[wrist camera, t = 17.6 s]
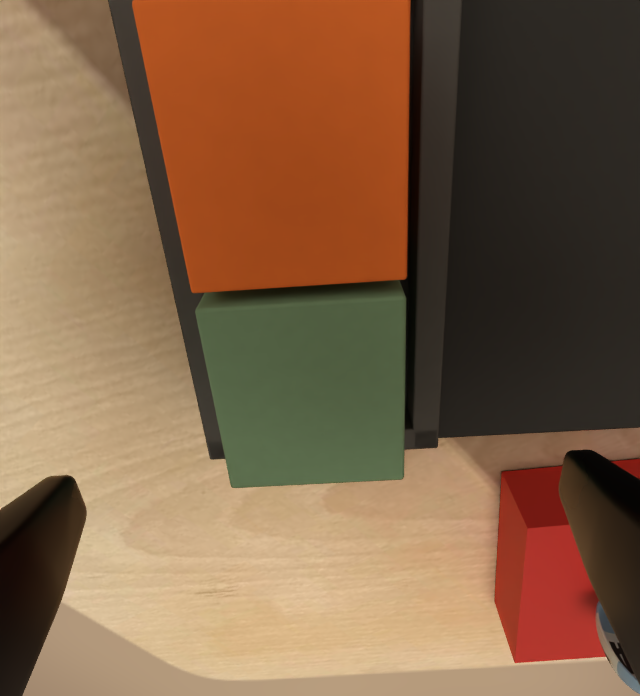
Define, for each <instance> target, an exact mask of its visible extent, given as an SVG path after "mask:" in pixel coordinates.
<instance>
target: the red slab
mask: <svg viewBox="0 0 640 696" xmlns="http://www.w3.org/2000/svg"><path fill="white" fill-rule="evenodd" d="M611 462H613V463H614V464H616V465H617V466H619V467H621V468H622V469H624V470H626V471H627V472H629V473H630V474H632V475H634V476H635V477H637V478H639V479H640V459H631V460H620V461H611ZM562 467H563V466H557V467H546V468H536V469H525V470H514V471H504V472H502V476H501V494H500V512H499V529H498V547H497V565H496V582H495V600H494V601H495V604H496V607H497V611H498V614H499V617H500V620H501V623H502V626H503V629H504V632H505V635H506V638H507V641H508V644H509V647H510V650H511V653H512V656H513V659H514V662H515V663H521V662H535V661H549V660H563V659H578V658H592V657H607V659H608V661H609V663H610V664H611V666H612V668H613V669H614V670H615V672H616V673H617V674H618V676H619V677H620V678H621V679H622V680H623V681H624V682H625V683H626V684H627V685H628V686H629V687H630V688H631V689H632V690H634V691H635V692H637V693H639V694H640V685H639V683H638V681H637V678H636V676H635V674H634V672H633V670H632V668H631V666H630V664H629V662H628V660H627V658H626V656H625V653H624V651H623V649H622V647H621V645H620V643H619V641H618V639H617V637H616V635H615V633H614V631H613V628H612V626H611V624H610V622H609V620H608V618H607V616H606V614H605V612H604V610H603V608H602V606H601V604H600V601H599V599H598V597H597V595H596V593H595V591H594V589H593V586H592V584H591V582H590V580H589V577H588V575H587V572H586V570H585V567H584V564H583V562H582V559H581V556H580V553H579V550H578V547H577V545H576V542H575V539H574V536H573V533H572V530H571V528H570V525H569V522H568V519H567V516H566V514H565V511H564V508H563V505H562V502H561V499H560V496H559V481H560V476H561V471H562Z"/></svg>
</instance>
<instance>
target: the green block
mask: <svg viewBox="0 0 640 696" xmlns="http://www.w3.org/2000/svg"><path fill="white" fill-rule="evenodd" d="M195 314H196V319H197V323H198V328H199V333H200V338H201V343H202V348H203V353H204V357H205V362H206V367H207V372H208V377H209V382H210V386H211V391H212V396H213V401H214V406H215V411H216V416H217V420H218V425H219V430H220V435H221V440H222V445H223V450H224V454H225V459H226V464H227V469H228V474H229V479H230V484H231V487H232V488H245V487H264V486H284V485H303V484H323V483H343V482H362V481H382V480H401V479H403V477H404V439H405V360H406V297H405V294H404V291H403V289H402V286H401V283H400V281H399V280H390V281H375V282H359V283H344V284H329V285H314V286H298V287H283V288H268V289H253V290H237V291H222V292H207V293H204V295H203V297H202V299H201V301H200V302H199V304H198V306H197V308H196V311H195Z"/></svg>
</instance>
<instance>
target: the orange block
mask: <svg viewBox="0 0 640 696" xmlns="http://www.w3.org/2000/svg"><path fill="white" fill-rule="evenodd" d="M410 2H411V0H133V1H132V7H133V12H134V17H135V22H136V27H137V31H138V36H139V41H140V46H141V51H142V56H143V61H144V65H145V70H146V75H147V80H148V85H149V90H150V94H151V99H152V104H153V109H154V114H155V119H156V123H157V128H158V133H159V138H160V143H161V148H162V153H163V157H164V162H165V167H166V172H167V177H168V182H169V186H170V191H171V196H172V201H173V206H174V211H175V215H176V220H177V225H178V230H179V235H180V240H181V245H182V249H183V254H184V259H185V264H186V269H187V274H188V278H189V283H190V288H191V291H192V293H207V292H222V291H237V290H253V289H268V288H283V287H298V286H314V285H329V284H344V283H359V282H375V281H390V280H404V279H406V277H407V242H408V162H409V82H410Z"/></svg>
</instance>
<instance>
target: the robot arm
mask: <svg viewBox="0 0 640 696" xmlns="http://www.w3.org/2000/svg"><path fill="white" fill-rule="evenodd" d="M559 496H560V499H561V502H562V505H563V508H564V511H565V514H566V516H567V519H568V522H569V525H570V528H571V530H572V533H573V536H574V539H575V542H576V545H577V547H578V550H579V553H580V556H581V559H582V562H583V564H584V567H585V570H586V572H587V575H588V577H589V580H590V582H591V584H592V586H593V589H594V591H595V593H596V595H597V597H598V599H599V601H600V604H601V606H602V608H603V610H604V612H605V614H606V616H607V618H608V620H609V622H610V624H611V626H612V628H613V631H614V633H615V635H616V637H617V639H618V641H619V643H620V645H621V647H622V649H623V651H624V653H625V656H626V658H627V660H628V662H629V664H630V666H631V668H632V670H633V672H634V674H635V676H636V678H637V681H638V683H639V685H640V479H639V478H637V477H635V476H634V475H632V474H630V473H629V472H627V471H626V470H624V469H622V468H621V467H619V466H617V465H616V464H614V463H613V462H611V461H609V460H608V459H606V458H604V457H603V456H601V455H600V454H598V453H596V452H594V451H592V450H572V451H569V452H567V453H566V455H565V458H564V462H563V467H562V471H561V476H560V481H559ZM86 515H87V511H86V506H85V503H84V501H83V498H82V496H81V493H80V491H79V488H78V486H77V483H76V481H75V479H74V478H73V477H72V476H69V475H62V476H50V477H47V478H45V479H44V480H42V481H41V482H39V483H38V484H37V485H35V486H34V487H32V488H31V489H29V490H28V491H26V492H25V493H24V494H22V495H21V496H19V497H18V498H16V499H15V500H14V501H12V502H11V503H9V504H8V505H6V506H5V507H3V508H2V509H1V510H0V696H22V695H23V693H24V690H25V688H26V685H27V683H28V681H29V678H30V676H31V673H32V671H33V669H34V666H35V664H36V661H37V659H38V656H39V654H40V652H41V649H42V647H43V644H44V642H45V639H46V637H47V635H48V632H49V630H50V627H51V625H52V622H53V620H54V618H55V615H56V613H57V610H58V608H59V605H60V602H61V600H62V597H63V594H64V591H65V588H66V585H67V581H68V578H69V575H70V571H71V568H72V565H73V561H74V558H75V555H76V551H77V548H78V545H79V541H80V538H81V535H82V531H83V528H84V524H85V521H86Z"/></svg>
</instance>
